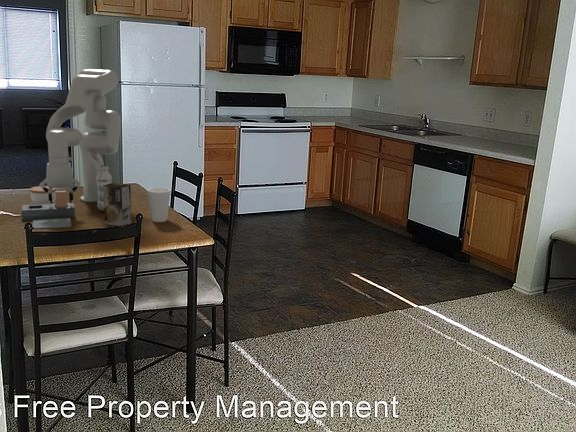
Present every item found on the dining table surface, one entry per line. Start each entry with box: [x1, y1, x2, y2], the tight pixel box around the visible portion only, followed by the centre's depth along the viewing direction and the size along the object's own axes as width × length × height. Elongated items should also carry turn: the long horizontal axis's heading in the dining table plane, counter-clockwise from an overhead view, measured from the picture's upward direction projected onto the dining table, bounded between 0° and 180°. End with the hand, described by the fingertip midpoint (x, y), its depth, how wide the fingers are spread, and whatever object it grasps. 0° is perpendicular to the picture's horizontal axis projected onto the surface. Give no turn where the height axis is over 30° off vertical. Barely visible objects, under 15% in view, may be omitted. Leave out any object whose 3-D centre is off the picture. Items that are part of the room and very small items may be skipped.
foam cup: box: [146, 187, 172, 223], centre depth 240 cm, size 10×9×13 cm
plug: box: [55, 190, 67, 208], centre depth 240 cm, size 4×4×10 cm
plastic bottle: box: [96, 164, 113, 212], centre depth 249 cm, size 6×7×20 cm
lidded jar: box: [29, 185, 57, 205], centre depth 254 cm, size 11×11×9 cm
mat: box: [32, 217, 72, 230], centre depth 228 cm, size 14×12×1 cm
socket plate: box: [21, 202, 76, 221], centre depth 239 cm, size 20×9×4 cm, turn 112°
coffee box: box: [103, 182, 132, 227], centre depth 231 cm, size 9×6×16 cm
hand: (61, 202), depth 240 cm, fingers open, 6 cm apart
